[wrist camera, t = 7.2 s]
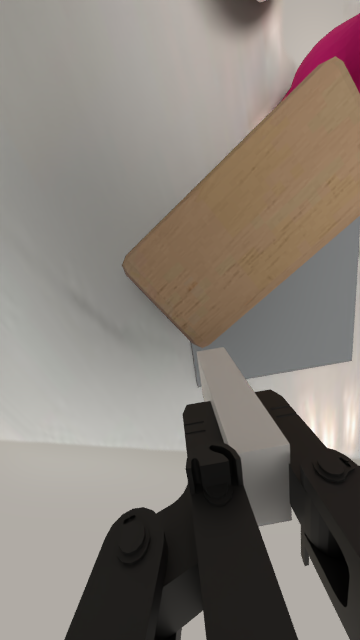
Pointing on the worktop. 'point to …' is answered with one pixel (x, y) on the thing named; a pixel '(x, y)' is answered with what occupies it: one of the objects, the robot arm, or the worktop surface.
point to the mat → (299, 316)
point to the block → (257, 210)
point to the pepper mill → (334, 52)
